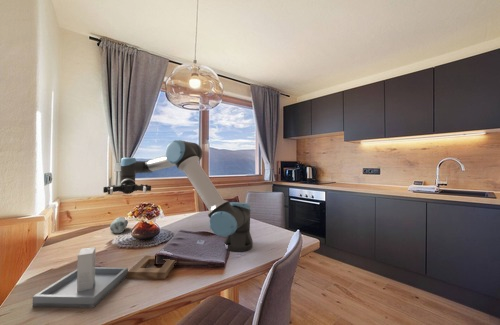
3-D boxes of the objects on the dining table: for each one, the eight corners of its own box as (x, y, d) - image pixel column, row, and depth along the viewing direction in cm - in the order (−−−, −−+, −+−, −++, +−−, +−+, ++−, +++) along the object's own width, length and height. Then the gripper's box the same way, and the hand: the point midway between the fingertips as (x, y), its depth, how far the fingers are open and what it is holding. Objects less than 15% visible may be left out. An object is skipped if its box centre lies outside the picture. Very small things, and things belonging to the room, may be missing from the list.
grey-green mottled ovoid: (127, 228, 127) (120, 213, 128) (110, 237, 124) (103, 222, 125) (133, 227, 140) (127, 214, 141) (118, 235, 136) (112, 221, 137)
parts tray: (127, 275, 81) (127, 267, 81) (93, 307, 63) (93, 297, 63) (80, 274, 81) (80, 266, 81) (32, 306, 63) (32, 296, 63)
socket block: (177, 261, 94) (177, 256, 94) (164, 279, 80) (165, 272, 80) (145, 261, 93) (145, 255, 93) (127, 278, 79) (127, 271, 79)
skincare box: (80, 283, 74) (80, 248, 74) (95, 280, 76) (96, 246, 76) (76, 292, 69) (77, 255, 69) (92, 289, 71) (93, 252, 71)
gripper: (152, 191, 122) (157, 197, 104) (99, 194, 109) (95, 201, 91) (153, 178, 122) (158, 182, 104) (100, 179, 109) (95, 183, 91)
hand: (128, 191), depth 98 cm, fingers open, 13 cm apart
